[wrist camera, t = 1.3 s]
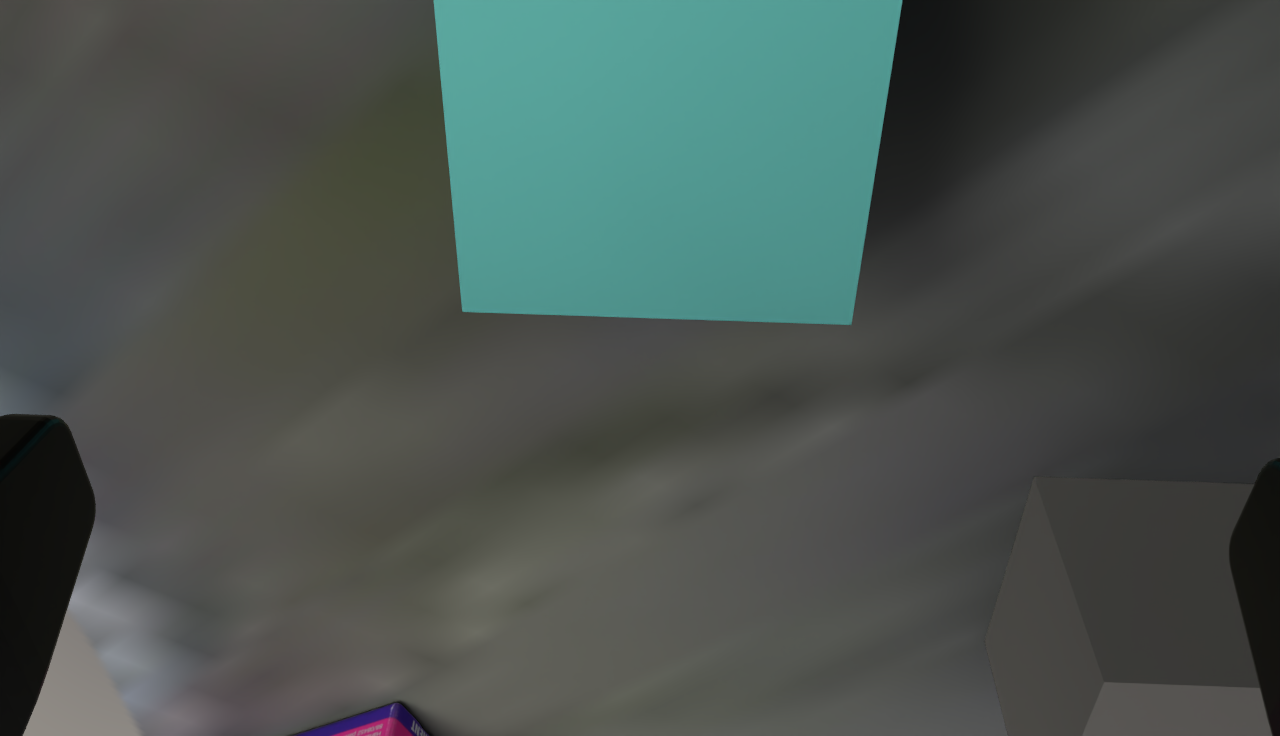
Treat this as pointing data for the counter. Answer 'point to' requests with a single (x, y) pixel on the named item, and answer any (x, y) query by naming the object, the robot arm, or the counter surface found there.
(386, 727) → the supplement box
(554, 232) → the teal cube
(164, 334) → the counter surface
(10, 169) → the counter surface
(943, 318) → the counter surface
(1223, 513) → the charcoal cube
